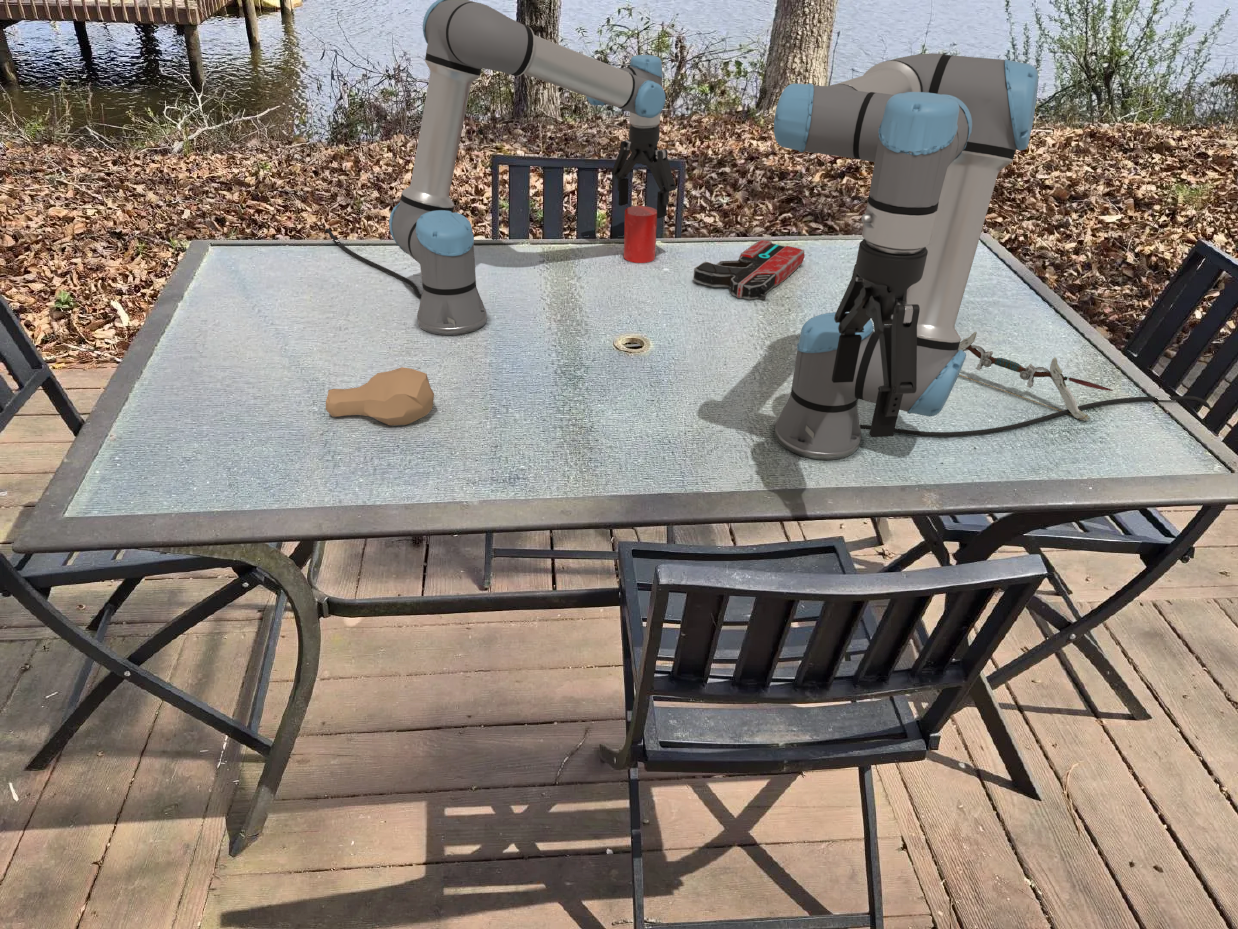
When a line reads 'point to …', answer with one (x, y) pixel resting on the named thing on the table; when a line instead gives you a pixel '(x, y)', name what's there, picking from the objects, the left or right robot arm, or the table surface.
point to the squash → (386, 397)
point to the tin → (640, 234)
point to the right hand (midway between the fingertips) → (860, 406)
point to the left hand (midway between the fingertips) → (642, 210)
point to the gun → (752, 270)
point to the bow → (1031, 375)
